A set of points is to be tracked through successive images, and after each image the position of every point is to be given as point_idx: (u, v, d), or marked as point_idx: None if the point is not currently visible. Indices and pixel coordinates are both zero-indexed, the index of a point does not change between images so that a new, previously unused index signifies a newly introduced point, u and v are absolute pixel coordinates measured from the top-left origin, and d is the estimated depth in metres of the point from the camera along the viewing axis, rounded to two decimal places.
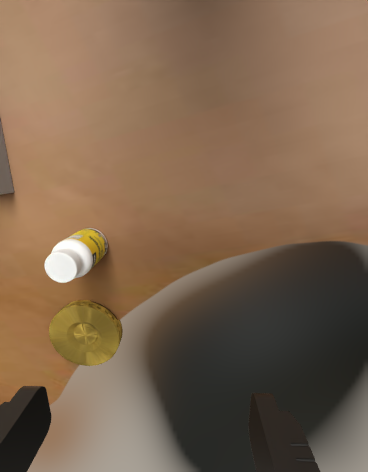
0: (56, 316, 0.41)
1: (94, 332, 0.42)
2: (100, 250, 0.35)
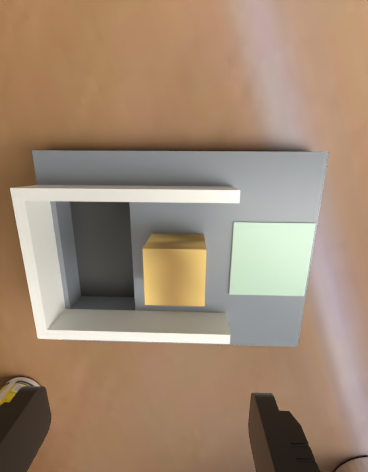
0: None
1: None
2: None
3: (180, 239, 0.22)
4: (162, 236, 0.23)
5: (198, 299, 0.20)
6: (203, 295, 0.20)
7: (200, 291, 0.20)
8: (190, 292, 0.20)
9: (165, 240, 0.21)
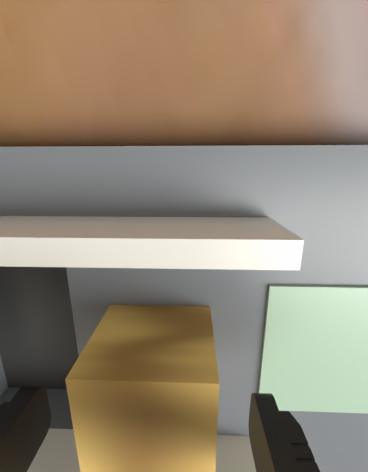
0: None
1: None
2: None
3: (162, 330, 0.10)
4: (128, 316, 0.11)
5: None
6: None
7: (204, 464, 0.09)
8: (182, 465, 0.09)
9: (128, 336, 0.10)
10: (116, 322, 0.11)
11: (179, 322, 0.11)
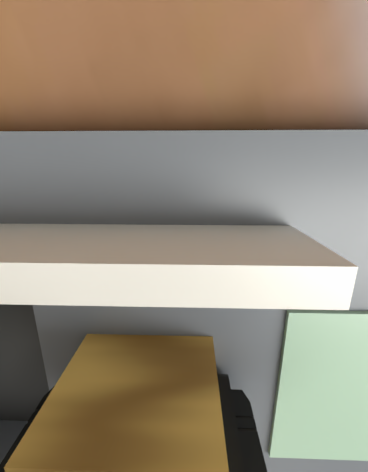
0: None
1: None
2: None
3: (150, 375, 0.08)
4: (107, 352, 0.09)
5: None
6: None
7: None
8: None
9: (105, 386, 0.07)
10: (91, 362, 0.08)
11: (173, 361, 0.08)
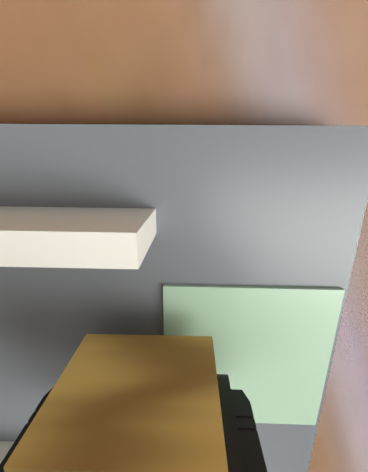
0: None
1: None
2: None
3: (150, 375, 0.08)
4: (107, 352, 0.09)
5: None
6: None
7: None
8: None
9: (105, 386, 0.07)
10: (91, 362, 0.08)
11: (173, 361, 0.08)
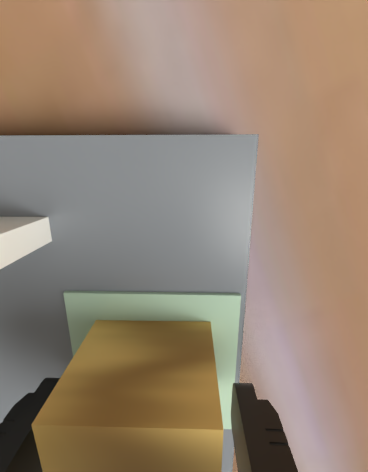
0: None
1: None
2: None
3: (154, 354, 0.09)
4: (115, 335, 0.10)
5: None
6: None
7: None
8: None
9: (115, 362, 0.08)
10: (101, 343, 0.09)
11: (175, 342, 0.09)
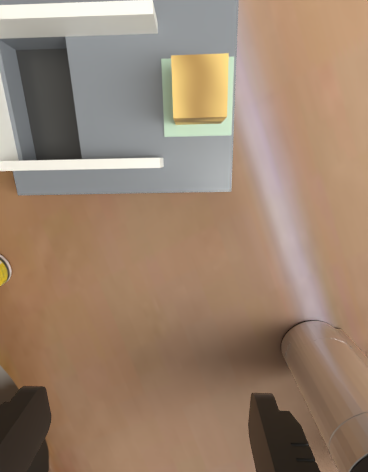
0: None
1: None
2: None
3: None
4: None
5: (221, 109, 0.23)
6: (226, 104, 0.22)
7: (223, 100, 0.22)
8: (214, 102, 0.22)
9: None
10: None
11: None
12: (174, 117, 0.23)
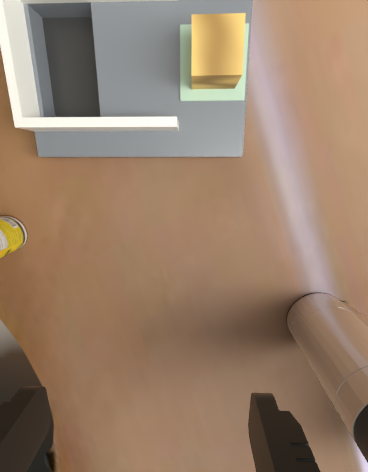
0: None
1: None
2: None
3: None
4: None
5: (237, 67, 0.24)
6: (241, 62, 0.24)
7: (239, 58, 0.24)
8: (230, 60, 0.24)
9: None
10: None
11: None
12: (192, 74, 0.24)
